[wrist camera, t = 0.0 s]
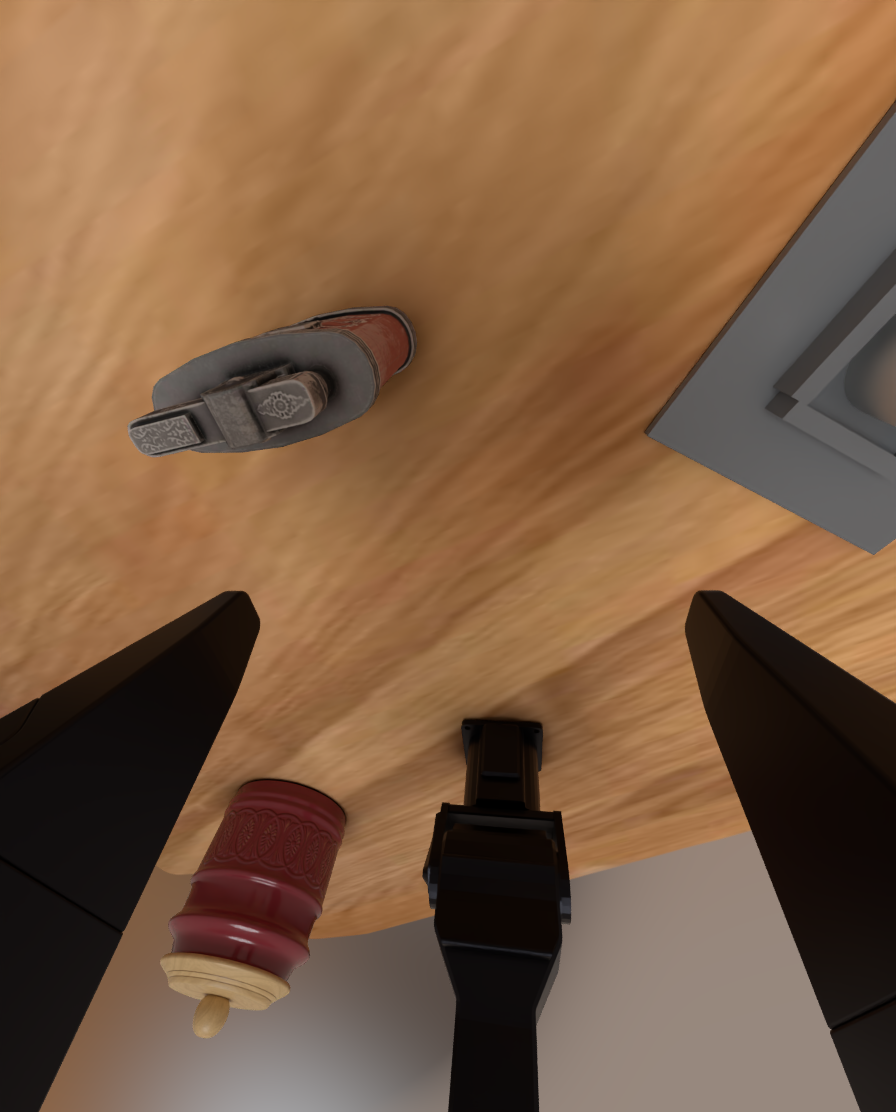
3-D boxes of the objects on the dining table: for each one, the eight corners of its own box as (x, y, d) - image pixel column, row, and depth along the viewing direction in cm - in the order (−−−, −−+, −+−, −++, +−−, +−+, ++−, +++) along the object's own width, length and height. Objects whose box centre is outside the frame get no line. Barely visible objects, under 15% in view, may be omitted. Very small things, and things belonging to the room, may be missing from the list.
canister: (226, 767, 45) (94, 1006, 31) (347, 789, 45) (271, 1041, 31) (245, 822, 53) (147, 1034, 38) (349, 841, 52) (289, 1063, 38)
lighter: (404, 289, 18) (320, 319, 10) (425, 371, 20) (368, 452, 12) (243, 336, 20) (65, 393, 12) (276, 408, 22) (140, 499, 14)
